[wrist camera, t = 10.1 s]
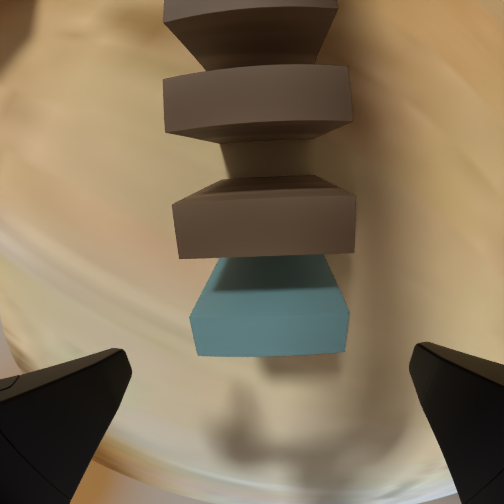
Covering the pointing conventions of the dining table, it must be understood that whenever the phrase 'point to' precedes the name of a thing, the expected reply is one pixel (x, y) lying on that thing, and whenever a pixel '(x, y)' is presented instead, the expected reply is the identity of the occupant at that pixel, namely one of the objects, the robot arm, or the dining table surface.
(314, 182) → the domino
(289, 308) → the end domino
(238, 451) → the dining table surface
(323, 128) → the domino
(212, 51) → the domino
